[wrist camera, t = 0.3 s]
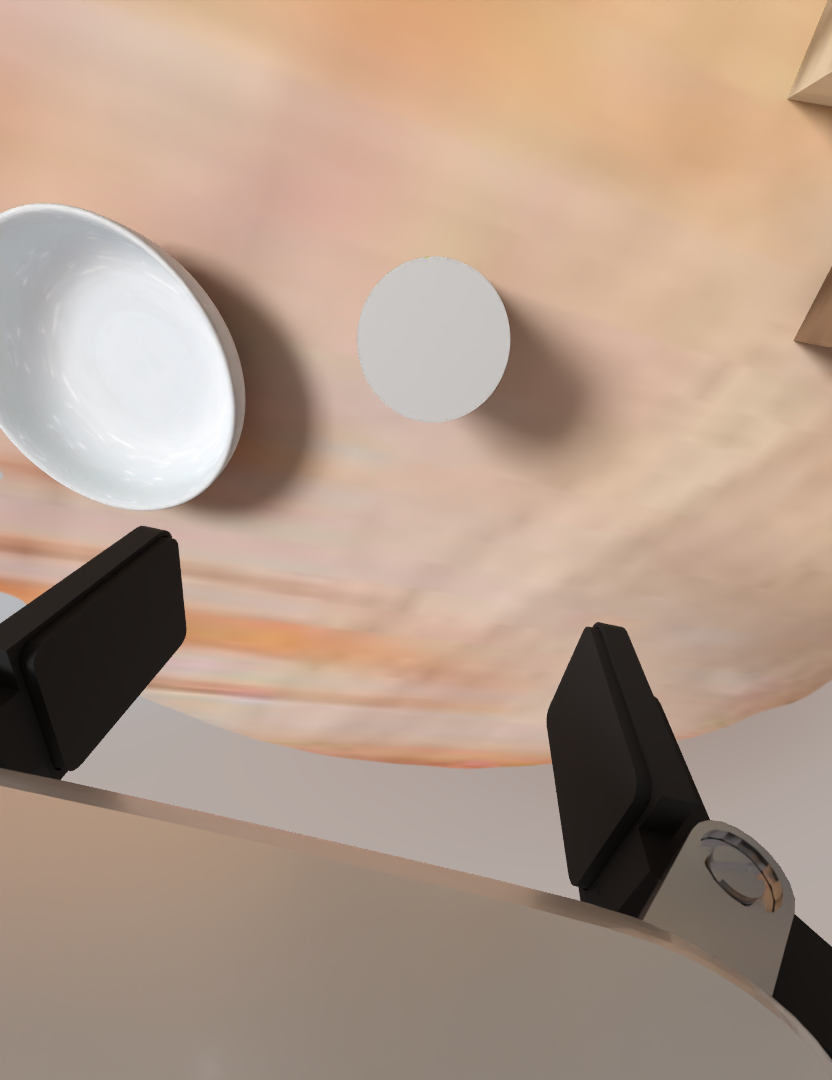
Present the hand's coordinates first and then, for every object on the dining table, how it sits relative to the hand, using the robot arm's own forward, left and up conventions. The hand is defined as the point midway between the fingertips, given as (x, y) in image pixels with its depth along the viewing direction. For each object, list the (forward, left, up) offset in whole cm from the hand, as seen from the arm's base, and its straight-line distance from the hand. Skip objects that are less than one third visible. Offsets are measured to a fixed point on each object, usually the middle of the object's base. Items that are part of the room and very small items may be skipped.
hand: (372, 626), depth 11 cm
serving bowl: (+3, -25, -31) cm, 40 cm away
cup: (-4, -1, -31) cm, 31 cm away
